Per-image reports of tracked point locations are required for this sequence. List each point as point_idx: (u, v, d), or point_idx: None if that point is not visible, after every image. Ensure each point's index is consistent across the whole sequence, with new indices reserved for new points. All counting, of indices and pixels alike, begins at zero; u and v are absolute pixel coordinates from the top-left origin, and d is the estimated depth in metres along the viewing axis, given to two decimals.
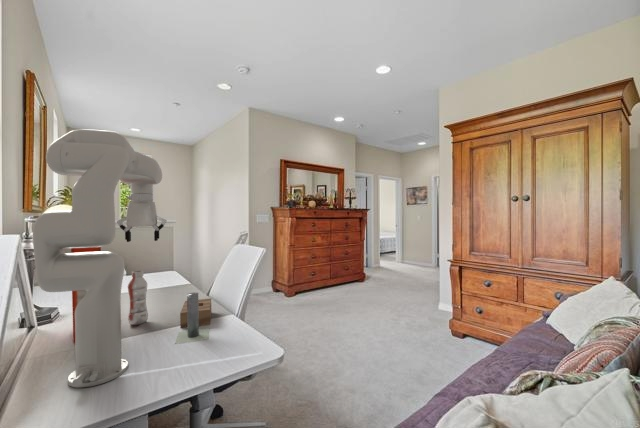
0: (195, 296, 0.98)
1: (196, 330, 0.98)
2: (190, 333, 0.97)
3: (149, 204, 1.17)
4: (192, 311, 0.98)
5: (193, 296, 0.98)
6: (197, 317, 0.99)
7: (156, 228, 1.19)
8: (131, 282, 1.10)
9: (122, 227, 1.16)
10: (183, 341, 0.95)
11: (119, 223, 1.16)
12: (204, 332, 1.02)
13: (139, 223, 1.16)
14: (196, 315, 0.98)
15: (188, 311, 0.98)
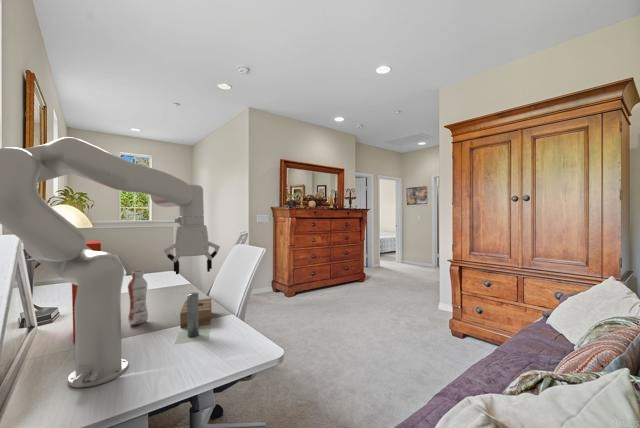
0: (195, 296, 0.98)
1: (196, 330, 0.98)
2: (190, 333, 0.97)
3: (201, 229, 0.98)
4: (192, 311, 0.98)
5: (193, 296, 0.98)
6: (197, 317, 0.99)
7: (209, 257, 1.00)
8: (131, 282, 1.10)
9: (170, 257, 0.97)
10: (183, 341, 0.95)
11: (166, 252, 0.96)
12: (204, 332, 1.02)
13: (190, 252, 0.97)
14: (196, 315, 0.98)
15: (188, 311, 0.98)
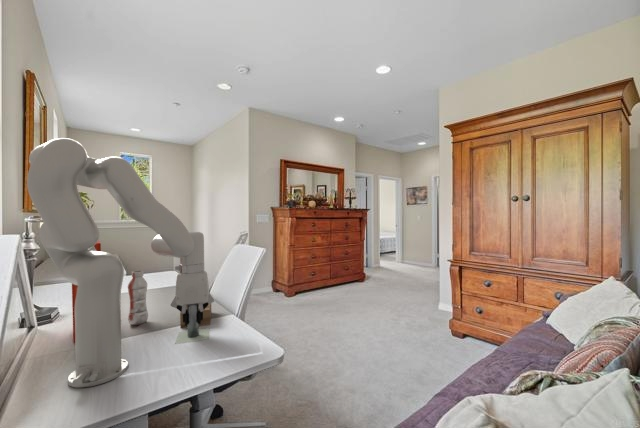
0: None
1: (196, 330, 0.98)
2: (190, 333, 0.97)
3: (201, 276, 0.98)
4: (192, 311, 0.97)
5: None
6: (197, 317, 0.99)
7: (200, 308, 0.99)
8: (131, 282, 1.10)
9: (179, 308, 0.97)
10: (183, 341, 0.95)
11: (174, 305, 0.97)
12: (204, 332, 1.02)
13: (190, 300, 0.96)
14: (196, 315, 0.98)
15: (188, 311, 0.98)
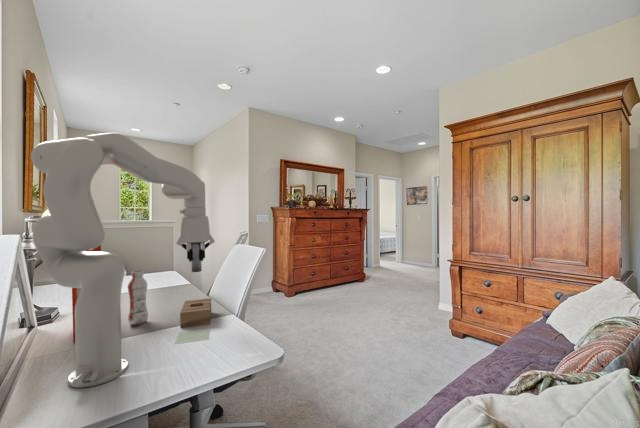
0: None
1: (199, 266, 1.12)
2: (194, 268, 1.11)
3: (203, 219, 1.11)
4: (196, 249, 1.11)
5: None
6: (200, 255, 1.13)
7: (202, 247, 1.12)
8: (131, 282, 1.10)
9: (184, 246, 1.11)
10: (183, 341, 0.95)
11: (179, 244, 1.11)
12: (204, 332, 1.02)
13: (193, 239, 1.10)
14: (199, 253, 1.12)
15: (192, 249, 1.11)
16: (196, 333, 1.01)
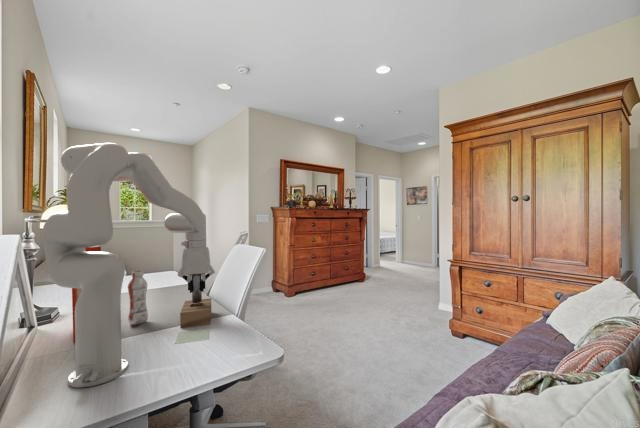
0: None
1: (199, 297, 1.14)
2: (194, 299, 1.14)
3: (204, 251, 1.14)
4: (196, 280, 1.14)
5: None
6: (200, 286, 1.15)
7: (203, 278, 1.15)
8: (131, 282, 1.10)
9: (185, 278, 1.13)
10: (183, 341, 0.95)
11: (180, 275, 1.13)
12: (204, 332, 1.02)
13: (194, 271, 1.13)
14: (199, 284, 1.15)
15: (192, 280, 1.14)
16: (196, 333, 1.01)
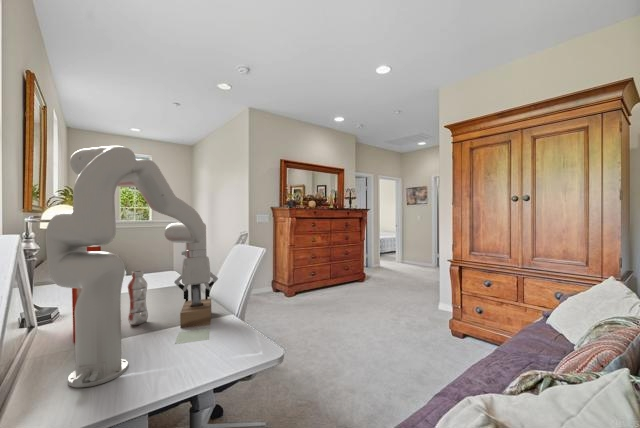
0: (198, 286, 1.14)
1: None
2: None
3: (204, 260, 1.14)
4: (196, 299, 1.14)
5: (196, 286, 1.14)
6: (200, 304, 1.15)
7: (207, 286, 1.15)
8: (131, 282, 1.10)
9: (181, 286, 1.13)
10: (183, 341, 0.95)
11: (177, 283, 1.13)
12: (204, 332, 1.02)
13: (194, 280, 1.12)
14: (199, 302, 1.14)
15: (192, 299, 1.14)
16: (196, 333, 1.01)
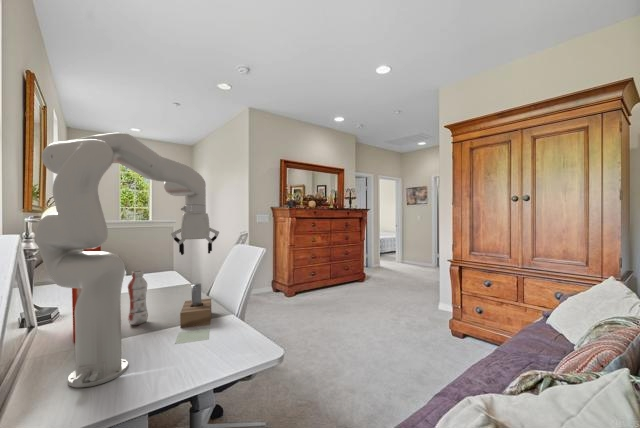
0: (198, 286, 1.14)
1: None
2: None
3: (203, 216, 1.14)
4: (196, 299, 1.14)
5: (196, 286, 1.14)
6: (200, 304, 1.15)
7: (210, 240, 1.16)
8: (131, 282, 1.10)
9: (176, 239, 1.12)
10: (183, 341, 0.95)
11: (173, 235, 1.12)
12: (204, 332, 1.02)
13: (194, 235, 1.12)
14: (199, 303, 1.14)
15: (192, 299, 1.14)
16: (196, 333, 1.01)
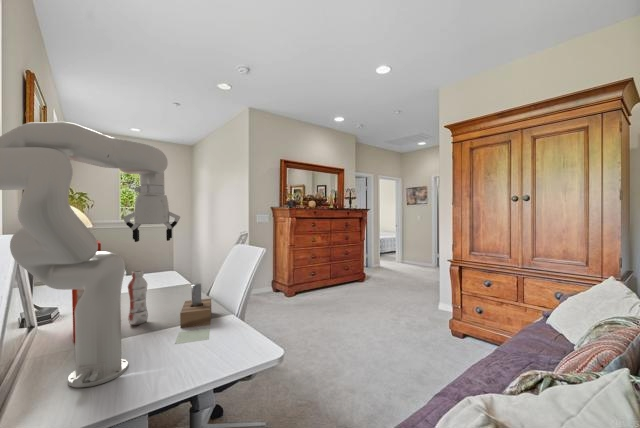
0: (198, 286, 1.14)
1: None
2: None
3: (160, 198, 1.00)
4: (196, 299, 1.14)
5: (196, 286, 1.14)
6: (200, 304, 1.15)
7: (168, 226, 1.02)
8: (131, 282, 1.10)
9: (129, 224, 0.99)
10: (183, 341, 0.95)
11: (126, 220, 0.99)
12: (204, 332, 1.02)
13: (149, 220, 0.99)
14: (199, 303, 1.14)
15: (192, 299, 1.14)
16: (196, 333, 1.01)
